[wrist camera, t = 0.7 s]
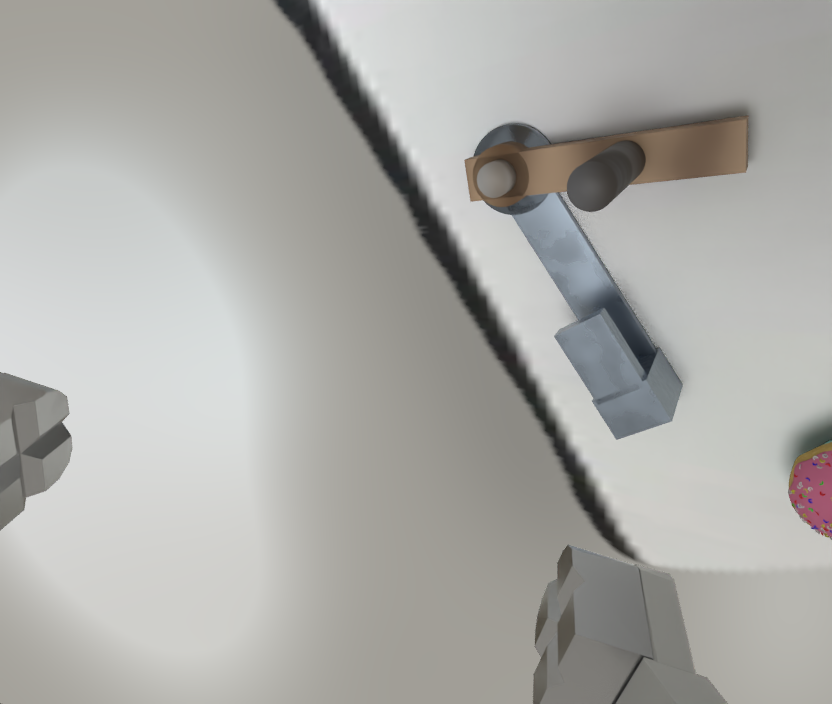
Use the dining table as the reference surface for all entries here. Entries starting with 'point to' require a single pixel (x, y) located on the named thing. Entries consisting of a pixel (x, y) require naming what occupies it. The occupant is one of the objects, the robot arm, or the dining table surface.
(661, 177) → the walnut link
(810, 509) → the cupcake
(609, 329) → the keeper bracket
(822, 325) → the dining table surface
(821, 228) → the dining table surface
